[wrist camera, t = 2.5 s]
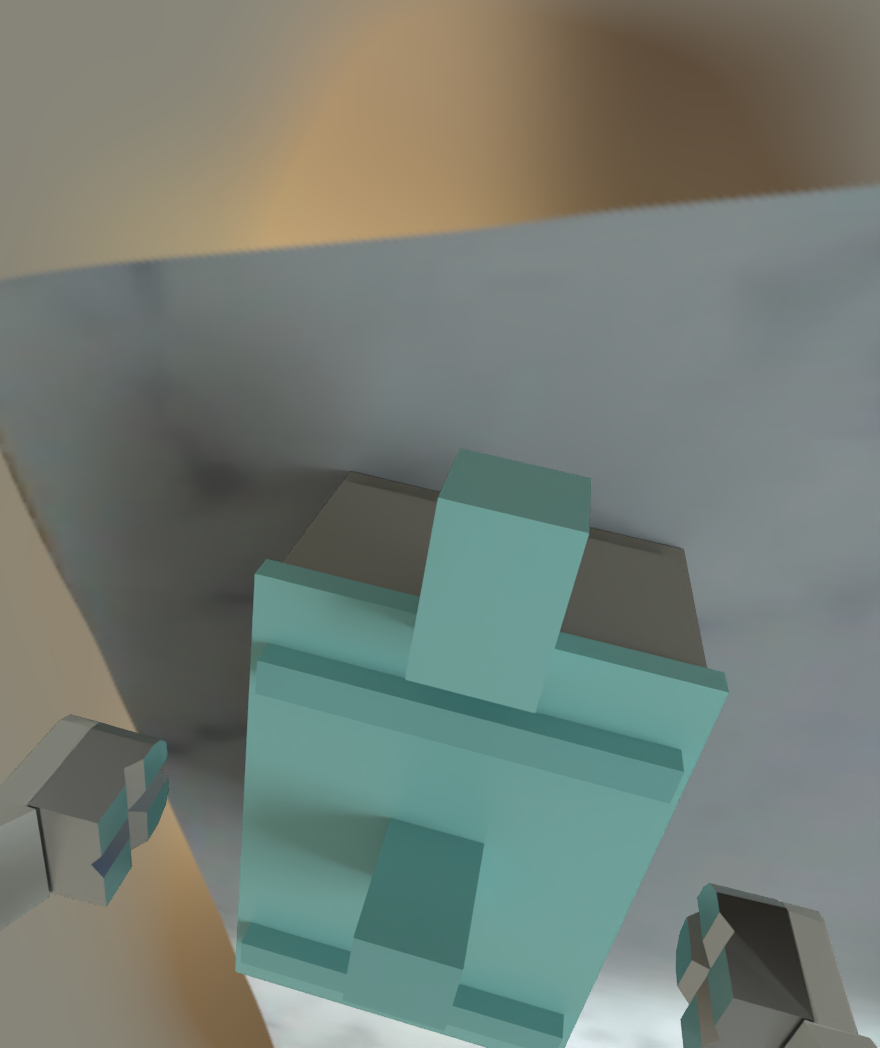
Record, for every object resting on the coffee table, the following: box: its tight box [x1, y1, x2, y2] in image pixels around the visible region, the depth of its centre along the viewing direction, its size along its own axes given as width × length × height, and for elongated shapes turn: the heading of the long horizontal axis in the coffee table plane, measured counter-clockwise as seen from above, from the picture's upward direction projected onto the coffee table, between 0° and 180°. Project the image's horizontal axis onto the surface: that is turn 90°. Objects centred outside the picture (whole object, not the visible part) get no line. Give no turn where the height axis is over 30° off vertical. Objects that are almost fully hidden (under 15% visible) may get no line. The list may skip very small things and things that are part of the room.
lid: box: [235, 448, 729, 1048], centre depth 21 cm, size 23×13×5 cm, turn 170°
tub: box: [282, 471, 707, 668], centre depth 28 cm, size 18×12×7 cm, turn 170°
